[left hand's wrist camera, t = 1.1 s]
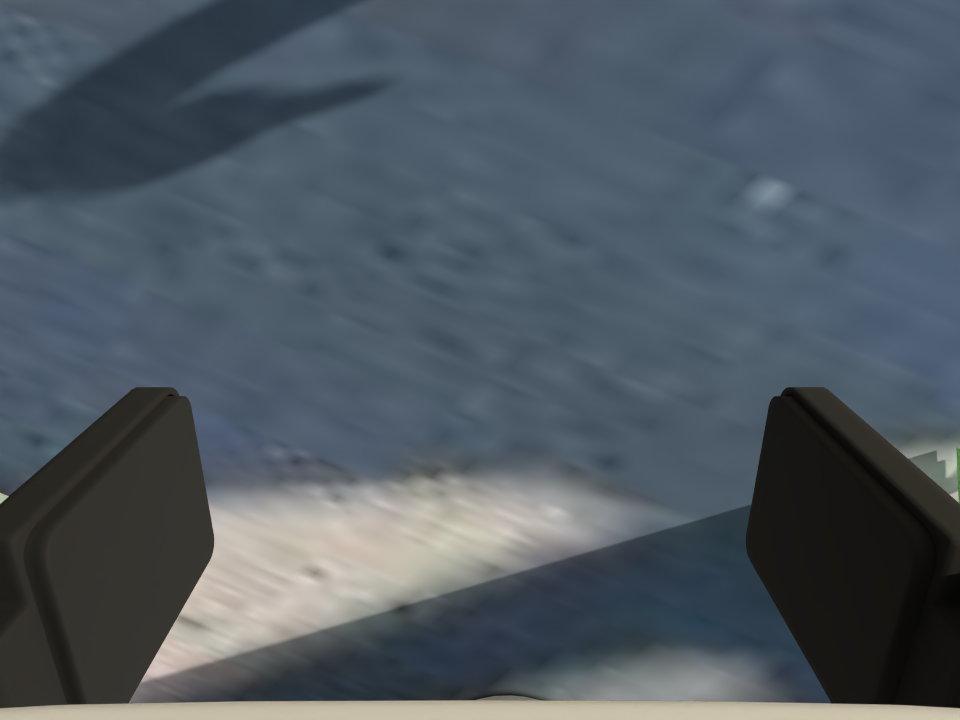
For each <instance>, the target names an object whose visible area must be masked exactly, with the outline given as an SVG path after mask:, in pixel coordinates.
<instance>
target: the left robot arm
mask: <svg viewBox="0 0 960 720" xmlns="http://www.w3.org/2000/svg"><path fill="white" fill-rule="evenodd" d="M213 548H214V534H213V528H212V522H211V517H210V511H209V505H208V500H207V494H206V488H205V483H204V477H203V471H202V466H201V460H200V454H199V449H198V443H197V437H196V432H195V426H194V420H193V414H192V409H191V405H190V402H189V400H188V398H187V397H185V396H179V394H178V392H177V391H176V390H175V389H174V388H170V387H136V388H134V389H132V390H131V391H130V392H129V393H128V394H126V395H125V396H124V397H123V398H122V399H121V400H119V401H118V402H117V403H116V404H115V405H114V406H113V407H111V408H110V409H109V410H108V411H107V412H106V413H104V414H103V415H102V416H101V417H100V418H99V419H98V420H96V421H95V422H94V423H93V424H92V425H91V426H89V427H88V428H87V429H86V430H85V431H84V432H83V433H81V434H80V435H79V436H78V437H77V438H76V439H74V440H73V441H72V442H71V443H70V444H69V445H68V446H66V447H65V448H64V449H63V450H62V451H61V452H59V453H58V454H57V455H56V456H55V457H54V458H53V459H51V460H50V461H49V462H48V463H47V464H46V465H44V466H43V467H42V468H41V469H40V470H39V471H38V472H36V473H35V474H34V475H33V476H32V477H31V478H30V479H28V480H27V481H26V482H25V483H24V484H23V485H21V486H20V487H19V488H18V489H17V490H16V491H15V492H13V493H12V494H11V495H10V496H9V497H8V498H6V499H5V500H4V501H3V502H2V503H1V504H0V720H960V504H959V503H958V502H957V501H956V500H955V499H954V498H952V497H951V496H950V495H949V494H948V493H947V492H945V491H944V490H943V489H942V488H941V487H940V486H939V485H937V484H936V483H935V482H934V481H933V480H932V479H930V478H929V477H928V476H927V475H926V474H925V473H924V472H922V471H921V470H920V469H919V468H918V467H917V466H916V465H914V464H913V463H912V462H911V461H910V460H909V459H907V458H906V457H905V456H904V455H903V454H902V453H901V452H899V451H898V450H897V449H896V448H895V447H894V446H892V445H891V444H890V443H889V442H888V441H887V440H886V439H884V438H883V437H882V436H881V435H880V434H879V433H877V432H876V431H875V430H874V429H873V428H872V427H871V426H869V425H868V424H867V423H866V422H865V421H864V420H862V419H861V418H860V417H859V416H858V415H857V414H856V413H854V412H853V411H852V410H851V409H850V408H849V407H847V406H846V405H845V404H844V403H843V402H842V401H841V400H839V399H838V398H837V397H836V396H835V395H834V394H832V393H831V392H830V391H829V390H828V389H826V388H824V387H790V388H786V389H785V390H784V391H783V392H782V394H781V396H775V397H773V398H772V400H771V402H770V405H769V409H768V414H767V420H766V426H765V431H764V437H763V443H762V448H761V454H760V460H759V465H758V471H757V477H756V483H755V488H754V494H753V500H752V505H751V511H750V517H749V522H748V528H747V534H746V548H747V553H748V557H749V559H750V561H751V563H752V564H753V566H754V568H755V570H756V571H757V573H758V575H759V577H760V578H761V580H762V582H763V584H764V585H765V587H766V589H767V591H768V592H769V594H770V596H771V598H772V599H773V601H774V603H775V605H776V606H777V608H778V610H779V612H780V613H781V615H782V617H783V619H784V620H785V622H786V624H787V626H788V627H789V629H790V631H791V633H792V634H793V636H794V638H795V640H796V641H797V643H798V645H799V647H800V648H801V650H802V652H803V654H804V655H805V657H806V659H807V661H808V662H809V664H810V666H811V668H812V669H813V671H814V673H815V675H816V676H817V678H818V680H819V682H820V683H821V685H822V687H823V689H824V690H825V692H826V694H827V696H828V697H829V699H830V701H831V703H832V704H826V703H774V702H721V701H541V700H537V699H533V698H529V697H523V696H513V695H505V696H492V697H486V698H481V699H477V700H443V701H239V702H186V703H134V704H128V703H129V701H130V699H131V697H132V696H133V694H134V692H135V690H136V689H137V687H138V685H139V683H140V682H141V680H142V678H143V676H144V675H145V673H146V671H147V669H148V668H149V666H150V664H151V662H152V661H153V659H154V657H155V655H156V654H157V652H158V650H159V648H160V647H161V645H162V643H163V641H164V640H165V638H166V636H167V634H168V633H169V631H170V629H171V627H172V626H173V624H174V622H175V620H176V619H177V617H178V615H179V613H180V612H181V610H182V608H183V606H184V605H185V603H186V601H187V599H188V598H189V596H190V594H191V592H192V591H193V589H194V587H195V585H196V584H197V582H198V580H199V578H200V577H201V575H202V573H203V571H204V570H205V568H206V566H207V564H208V563H209V561H210V559H211V557H212V553H213Z"/></svg>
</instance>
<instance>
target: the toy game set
mask: <svg viewBox="0 0 960 720" xmlns="http://www.w3.org/2000/svg"><path fill="white" fill-rule="evenodd" d="M957 469H958V492H959V504H960V449H959V448H957Z"/></svg>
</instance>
